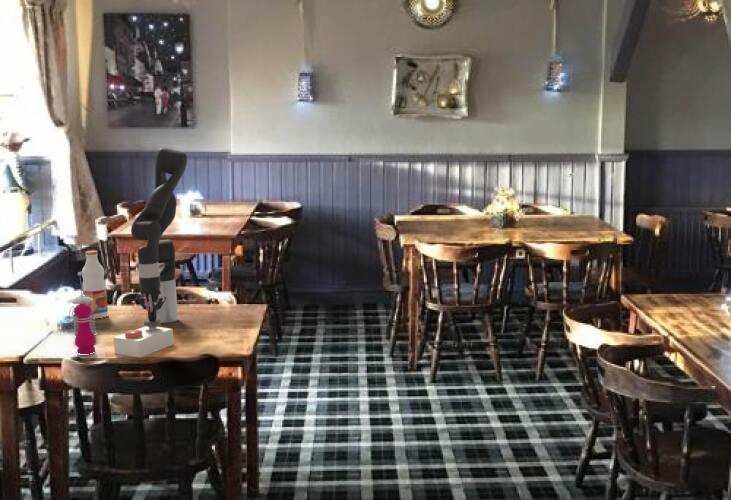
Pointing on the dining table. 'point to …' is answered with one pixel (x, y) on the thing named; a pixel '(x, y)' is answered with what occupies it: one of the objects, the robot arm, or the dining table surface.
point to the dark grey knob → (152, 324)
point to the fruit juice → (95, 285)
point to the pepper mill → (84, 329)
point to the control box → (144, 342)
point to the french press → (76, 301)
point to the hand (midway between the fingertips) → (152, 320)
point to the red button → (133, 334)
